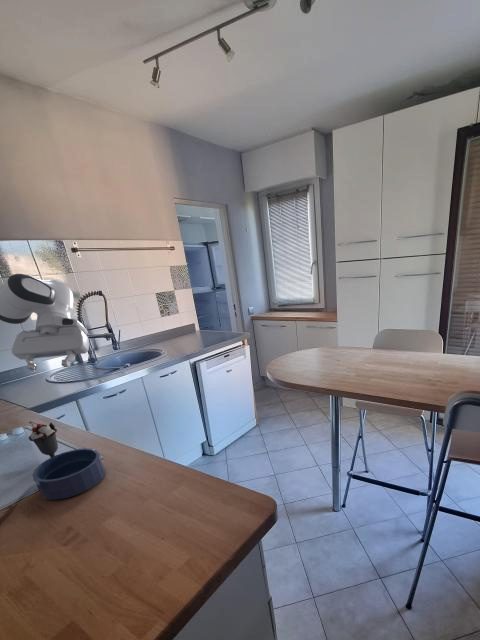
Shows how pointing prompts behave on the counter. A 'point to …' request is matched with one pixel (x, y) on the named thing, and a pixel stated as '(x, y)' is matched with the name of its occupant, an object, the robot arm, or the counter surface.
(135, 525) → the counter surface
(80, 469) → the basin
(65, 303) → the robot arm
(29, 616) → the counter surface
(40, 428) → the sundae
